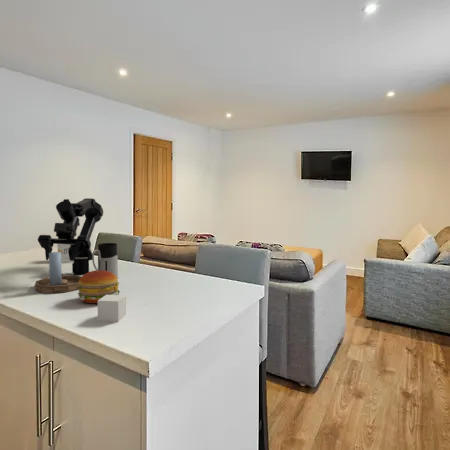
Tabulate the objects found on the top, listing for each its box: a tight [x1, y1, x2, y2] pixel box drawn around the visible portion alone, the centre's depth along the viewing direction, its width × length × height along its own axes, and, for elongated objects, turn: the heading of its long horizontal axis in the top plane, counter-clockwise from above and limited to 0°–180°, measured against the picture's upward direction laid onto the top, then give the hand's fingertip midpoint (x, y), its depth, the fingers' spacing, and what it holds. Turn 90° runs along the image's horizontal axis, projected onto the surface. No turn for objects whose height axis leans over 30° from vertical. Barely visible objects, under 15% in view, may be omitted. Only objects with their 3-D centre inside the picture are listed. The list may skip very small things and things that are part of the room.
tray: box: [34, 274, 82, 294], centre depth 133 cm, size 17×17×2 cm
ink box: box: [57, 244, 74, 264], centre depth 183 cm, size 9×8×12 cm
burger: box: [77, 269, 121, 304], centre depth 117 cm, size 13×14×10 cm
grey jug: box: [91, 242, 120, 280], centre depth 142 cm, size 9×14×15 cm, turn 164°
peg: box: [48, 251, 63, 286], centre depth 127 cm, size 4×4×13 cm
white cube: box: [97, 294, 127, 323], centre depth 100 cm, size 6×6×6 cm
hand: (59, 259), depth 132 cm, fingers open, 9 cm apart
